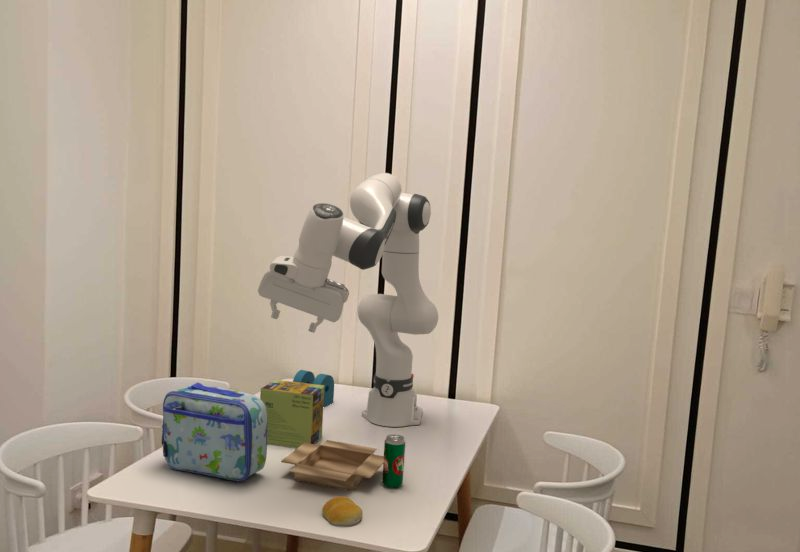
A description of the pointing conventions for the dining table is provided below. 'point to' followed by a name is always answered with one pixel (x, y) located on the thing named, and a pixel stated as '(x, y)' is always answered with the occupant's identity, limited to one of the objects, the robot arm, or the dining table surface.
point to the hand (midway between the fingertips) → (293, 324)
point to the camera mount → (318, 383)
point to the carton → (334, 464)
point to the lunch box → (214, 432)
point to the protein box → (293, 412)
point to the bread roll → (342, 511)
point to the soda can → (393, 461)
